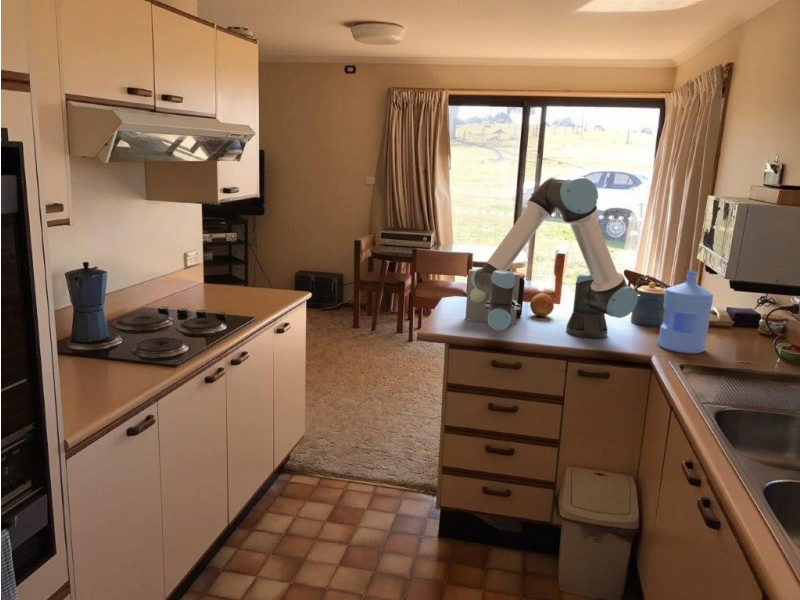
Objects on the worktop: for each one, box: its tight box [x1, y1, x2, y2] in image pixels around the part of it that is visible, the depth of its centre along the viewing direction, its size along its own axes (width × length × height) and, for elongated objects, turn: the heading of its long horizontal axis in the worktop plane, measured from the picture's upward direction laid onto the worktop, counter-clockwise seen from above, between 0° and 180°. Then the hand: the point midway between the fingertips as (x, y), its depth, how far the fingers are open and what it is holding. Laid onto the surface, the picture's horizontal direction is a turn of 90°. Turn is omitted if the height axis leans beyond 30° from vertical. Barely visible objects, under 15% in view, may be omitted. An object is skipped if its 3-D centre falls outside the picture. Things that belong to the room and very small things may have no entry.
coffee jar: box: [512, 271, 526, 319], centre depth 256 cm, size 11×11×18 cm
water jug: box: [657, 270, 714, 354], centre depth 219 cm, size 16×16×28 cm
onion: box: [529, 292, 555, 318], centre depth 258 cm, size 10×10×10 cm
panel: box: [465, 269, 520, 325], centre depth 245 cm, size 3×20×20 cm, turn 77°
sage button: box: [470, 287, 486, 303], centre depth 245 cm, size 8×6×6 cm
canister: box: [630, 281, 666, 328], centre depth 254 cm, size 13×13×18 cm
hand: (505, 298), depth 239 cm, fingers closed
